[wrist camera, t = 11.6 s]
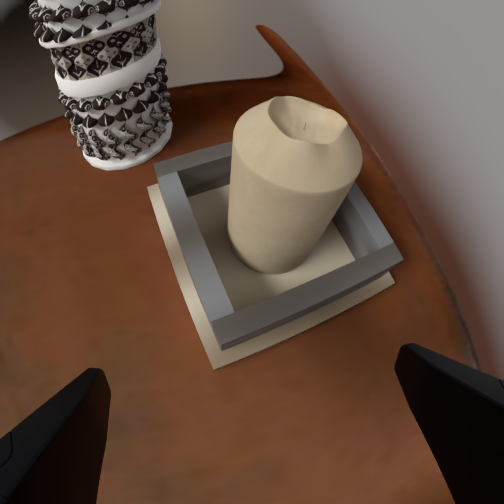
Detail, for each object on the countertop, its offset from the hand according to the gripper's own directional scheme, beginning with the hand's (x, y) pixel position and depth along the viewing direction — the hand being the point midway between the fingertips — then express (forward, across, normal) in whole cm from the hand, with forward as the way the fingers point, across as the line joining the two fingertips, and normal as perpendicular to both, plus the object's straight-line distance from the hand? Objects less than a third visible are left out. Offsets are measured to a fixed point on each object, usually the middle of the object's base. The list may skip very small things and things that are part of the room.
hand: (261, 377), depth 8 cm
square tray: (+13, -3, 0) cm, 13 cm away
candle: (+12, -3, 0) cm, 13 cm away
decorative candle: (+21, +9, -8) cm, 24 cm away
